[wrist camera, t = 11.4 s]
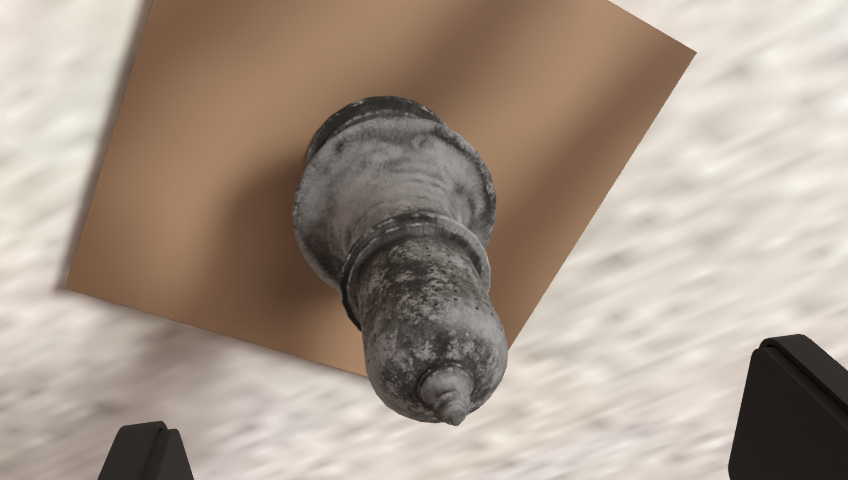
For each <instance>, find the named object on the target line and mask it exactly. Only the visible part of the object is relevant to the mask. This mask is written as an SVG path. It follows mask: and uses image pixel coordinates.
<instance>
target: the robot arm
mask: <svg viewBox="0 0 848 480" xmlns="http://www.w3.org/2000/svg"><path fill="white" fill-rule="evenodd" d="M728 472H729V477H730V480H848V371H847V370H846V369H845V368H844V367H843V366H842V365H840V364H839V363H838V362H837V361H836V360H834V359H833V358H832V357H831V356H830V355H829V354H827V353H826V352H825V351H824V350H823V349H821V348H820V347H819V346H818V345H817V344H816V343H814V342H813V341H812V340H811V339H810V338H808V337H806V336H805V335H801V334H795V335H787V336H780V337H773V338H767V339H764V340H763V341H762V342H761V344H760V346H759V348H758V349H755V350H754V351H753V353H752V356H751V360H750V365H749V370H748V374H747V379H746V384H745V389H744V393H743V398H742V403H741V407H740V412H739V417H738V422H737V426H736V431H735V436H734V440H733V445H732V450H731V455H730V459H729V464H728ZM98 480H194V478H193V475H192V472H191V468H190V465H189V462H188V459H187V455H186V452H185V449H184V446H183V443H182V439H181V436H180V433H179V431H178V430H177V429H169V430H168V429H167V427H166V425H165V423H164V422H163V421H156V422H148V423H141V424H134V425H126V426H123V427H121V428H120V429H119V431H118V433H117V435H116V437H115V440H114V442H113V444H112V447H111V449H110V451H109V454H108V456H107V458H106V461H105V463H104V465H103V468H102V470H101V472H100V475H99V477H98Z"/></svg>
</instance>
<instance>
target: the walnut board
mask: <svg viewBox="0 0 848 480" xmlns="http://www.w3.org/2000/svg"><path fill="white" fill-rule="evenodd" d="M696 53H697V52H695V51H694V50H692V49H690V48H688V47H687V46H685V45H683V44H682V43H680V42H678V41H677V40H675V39H673V38H671V37H670V36H668V35H666V34H665V33H663V32H661V31H659V30H658V29H656V28H654V27H653V26H651V25H649V24H647V23H646V22H644V21H642V20H641V19H639V18H637V17H636V16H634V15H632V14H630V13H629V12H627V11H625V10H624V9H622V8H620V7H618V6H617V5H615V4H613V3H612V2H610V1H608V0H153V3H152V6H151V9H150V13H149V16H148V19H147V22H146V26H145V29H144V32H143V35H142V39H141V42H140V45H139V48H138V52H137V55H136V58H135V61H134V65H133V68H132V71H131V74H130V78H129V81H128V84H127V87H126V91H125V94H124V97H123V100H122V104H121V107H120V110H119V113H118V117H117V120H116V123H115V126H114V130H113V133H112V136H111V139H110V143H109V146H108V149H107V152H106V156H105V159H104V162H103V165H102V169H101V172H100V175H99V178H98V182H97V185H96V188H95V191H94V195H93V198H92V201H91V204H90V208H89V211H88V214H87V217H86V221H85V224H84V227H83V230H82V234H81V237H80V240H79V243H78V247H77V250H76V253H75V256H74V260H73V263H72V266H71V269H70V272H69V276H68V279H67V282H66V285H65V288H66V289H69V290H72V291H76V292H79V293H83V294H86V295H89V296H93V297H96V298H100V299H103V300H107V301H110V302H113V303H117V304H120V305H124V306H127V307H131V308H134V309H137V310H141V311H144V312H148V313H151V314H154V315H158V316H161V317H165V318H168V319H172V320H175V321H178V322H182V323H185V324H189V325H192V326H195V327H199V328H202V329H206V330H209V331H213V332H216V333H219V334H223V335H226V336H230V337H233V338H236V339H240V340H243V341H247V342H250V343H254V344H257V345H260V346H264V347H267V348H271V349H274V350H277V351H281V352H284V353H288V354H291V355H295V356H298V357H301V358H305V359H308V360H312V361H315V362H319V363H322V364H325V365H329V366H332V367H336V368H339V369H342V370H346V371H349V372H353V373H356V374H360V375H363V376H366V377H368V374H367V372H366V365H365V357H364V348H363V340H362V332H361V331H359V330H358V329H357V327H356V326H355V325H354V324H353V323H352V321H351V320H350V319H349V318H348V316H347V314H346V311H345V309H344V307H343V304H342V302H341V295H340V292H339V291H337V290H336V289H335V288H333V287H332V286H330V285H329V284H327V283H326V282H325V281H323V280H322V279H320V277H319V276H318V275H317V274H316V273H315V271H314V270H313V269H312V268H311V267H310V265H309V264H308V263H307V262H306V261H305V259H304V257H303V254H302V252H301V250H300V247H299V245H298V243H297V241H296V238H295V232H294V224H293V216H292V210H293V204H294V198H295V192H296V187H297V184H298V182H299V180H300V178H301V176H302V174H303V172H304V170H305V164H306V159H307V153H308V149H309V147H310V145H311V143H312V141H313V139H314V137H315V134H316V132H317V131H318V130H319V128H320V127H321V126H322V125H323V124H324V123H325V122H326V121H327V119H328V118H329V117H330V116H331V115H332V114H334V113H336V112H337V111H339V110H340V109H342V108H343V107H345V106H346V105H348V104H349V103H352V102H355V101H359V100H362V99H365V98H368V97H375V96H396V97H401V98H405V99H410V100H414V101H415V102H417V103H419V104H421V105H423V106H425V107H427V108H429V109H431V110H432V111H433V112H434V113H435V114H436V115H437V116H439V117H440V118H441V119H442V120H443V121H444V122H445V123H446V124H447V126H448V128H449V129H451V130H453V131H455V132H457V133H459V134H460V135H461V136H462V137H463V138H464V139H465V140H466V141H467V142H468V143H469V144H471V145H472V146H473V147H474V148H475V149H476V150H477V151H478V153H479V154H480V156H481V158H482V160H483V161H484V163H485V165H486V166H487V168H488V170H489V171H490V173H491V177H492V181H493V185H494V189H495V193H496V221H495V224H494V227H493V230H492V234H491V237H490V240H489V243H488V245H487V247H486V248H485V251H486V253H487V257H488V261H489V264H490V268H491V277H490V289H489V292H488V296H489V298H490V300H491V302H492V304H493V306H494V308H495V310H496V313H497V315H498V317H499V319H500V321H501V323H502V325H503V328H504V332H505V336H506V340H507V348H508V350H509V348H510V347H511V345H512V344H513V342H514V340H515V339H516V337H517V336H518V334H519V333H520V331H521V329H522V328H523V326H524V325H525V323H526V322H527V320H528V318H529V317H530V315H531V314H532V312H533V310H534V309H535V307H536V306H537V304H538V303H539V301H540V299H541V298H542V296H543V295H544V293H545V292H546V290H547V288H548V287H549V285H550V284H551V282H552V280H553V279H554V277H555V276H556V274H557V273H558V271H559V269H560V268H561V266H562V265H563V263H564V261H565V260H566V258H567V257H568V255H569V254H570V252H571V250H572V249H573V247H574V246H575V244H576V243H577V241H578V239H579V238H580V236H581V235H582V233H583V231H584V230H585V228H586V227H587V225H588V224H589V222H590V220H591V219H592V217H593V216H594V214H595V212H596V211H597V209H598V208H599V206H600V205H601V203H602V201H603V200H604V198H605V197H606V195H607V194H608V192H609V190H610V189H611V187H612V186H613V184H614V182H615V181H616V179H617V178H618V176H619V175H620V173H621V171H622V170H623V168H624V167H625V165H626V164H627V162H628V160H629V159H630V157H631V156H632V154H633V152H634V151H635V149H636V148H637V146H638V145H639V143H640V141H641V140H642V138H643V137H644V135H645V133H646V132H647V130H648V129H649V127H650V126H651V124H652V122H653V121H654V119H655V118H656V116H657V115H658V113H659V111H660V110H661V108H662V107H663V105H664V103H665V102H666V100H667V99H668V97H669V96H670V94H671V92H672V91H673V89H674V88H675V86H676V84H677V83H678V81H679V80H680V78H681V77H682V75H683V73H684V72H685V70H686V69H687V67H688V66H689V64H690V62H691V61H692V59H693V58H694V56H695V54H696Z"/></svg>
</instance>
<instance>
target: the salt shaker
mask: <svg viewBox="0 0 848 480" xmlns="http://www.w3.org/2000/svg"><path fill="white" fill-rule="evenodd" d="M292 216H293V224H294V232H295V238H296V241H297V243H298V245H299V247H300V250H301V252H302V254H303V257H304V259H305V261H306V262H307V263H308V264H309V265H310V267H311V268H312V269H313V270H314V271H315V273H316V274H317V275H318V276H319V277H320V279H322V280H323V281H325V282H326V283H327V284H329V285H330V286H332V287H333V288H335V289H336V290H337V291H339V292H340V295H341V302H342V304H343V307H344V309H345V311H346V314H347V316H348V318H349V319H350V320H351V321H352V323H353V324H354V325H355V326H356V327H357V329H358V330H359V331H361V332H362V340H363V348H364V357H365V365H366V372H367V374H368V377H369V379H370V382H371V384H372V386H373V388H374V390H375V392H376V394H377V395H378V397H379V398H380V399H381V400H382V401H383V402H384V404H385V405H386V406H387V407H389V408H390V409H392V410H394V411H395V412H397V413H398V414H400V415H402V416H405V417H408V418H411V419H414V420H417V421H420V422H429V423H440V422H445V423H447V424H450V425H453V426H458V425H459V424H460V423H461V422H462V421H463V420H464V419H465V416H466V415H468V414H470V413H472V412H473V411H475V410H477V409H478V408H479V407H480V406H481V405H483V404H484V403H485V402H486V401H487V400H488V399H489V398H490V396H491V395H492V394H493V392H494V391H495V389H496V388H497V386H498V385H499V383H500V382H501V381H502V378H503V375H504V372H505V370H506V367H507V355H508V348H507V340H506V336H505V332H504V328H503V325H502V323H501V321H500V319H499V317H498V315H497V313H496V310H495V308H494V306H493V304H492V302H491V300H490V298H489V296H488V292H489V289H490V277H491V268H490V264H489V261H488V257H487V253H486V251H485V248H486V247H487V245H488V243H489V240H490V237H491V234H492V230H493V227H494V224H495V221H496V193H495V189H494V185H493V181H492V177H491V173H490V171H489V170H488V168H487V166H486V165H485V163H484V161H483V160H482V158H481V156H480V154H479V153H478V151H477V150H476V149H475V148H474V147H473V146H472V145H471V144H469V143H468V142H467V141H466V140H465V139H464V138H463V137H462V136H461V135H460V134H459V133H457V132H455V131H453V130H451V129H449V128H448V126H447V124H446V123H445V122H444V121H443V120H442V119H441V118H440V117H439V116H437V115H436V114H435V113H434V112H433V111H432V110H431V109H429V108H427V107H425V106H423V105H421V104H419V103H417V102H415V101H414V100H410V99H405V98H401V97H396V96H375V97H368V98H365V99H362V100H359V101H355V102H352V103H349V104H348V105H346V106H345V107H343V108H342V109H340V110H339V111H337V112H336V113H334V114H332V115H331V116H330V117H329V118H328V119H327V121H326V122H325V123H324V124H323V125H322V126H321V127H320V128H319V130H318V131H317V132H316V134H315V137H314V139H313V141H312V143H311V145H310V147H309V149H308V153H307V159H306V164H305V170H304V172H303V174H302V176H301V178H300V180H299V182H298V184H297V187H296V192H295V198H294V204H293V210H292Z"/></svg>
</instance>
